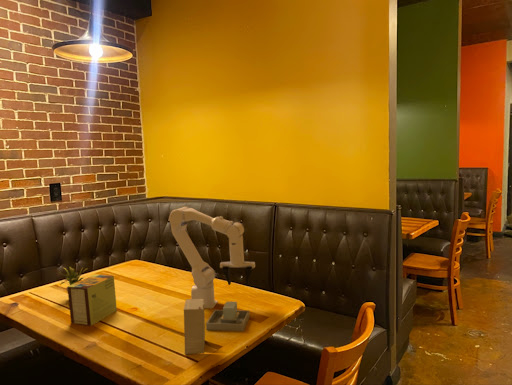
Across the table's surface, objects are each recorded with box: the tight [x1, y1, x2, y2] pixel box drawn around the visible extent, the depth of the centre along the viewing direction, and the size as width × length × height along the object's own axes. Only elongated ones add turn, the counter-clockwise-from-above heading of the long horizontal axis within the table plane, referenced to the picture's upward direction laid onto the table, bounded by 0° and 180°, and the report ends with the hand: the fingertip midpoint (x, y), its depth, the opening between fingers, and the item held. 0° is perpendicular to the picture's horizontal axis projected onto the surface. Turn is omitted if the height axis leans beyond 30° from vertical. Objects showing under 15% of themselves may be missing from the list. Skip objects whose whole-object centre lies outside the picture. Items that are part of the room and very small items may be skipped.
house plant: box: [59, 266, 89, 293], centre depth 175 cm, size 14×14×16 cm
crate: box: [205, 309, 251, 332], centre depth 143 cm, size 14×12×3 cm
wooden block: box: [221, 312, 240, 324], centre depth 142 cm, size 6×6×4 cm
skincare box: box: [183, 298, 206, 355], centre depth 126 cm, size 8×7×16 cm
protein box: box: [66, 273, 118, 327], centre depth 155 cm, size 10×15×16 cm
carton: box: [222, 301, 238, 319], centre depth 142 cm, size 4×6×4 cm, turn 171°
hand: (238, 284), depth 156 cm, fingers open, 7 cm apart
